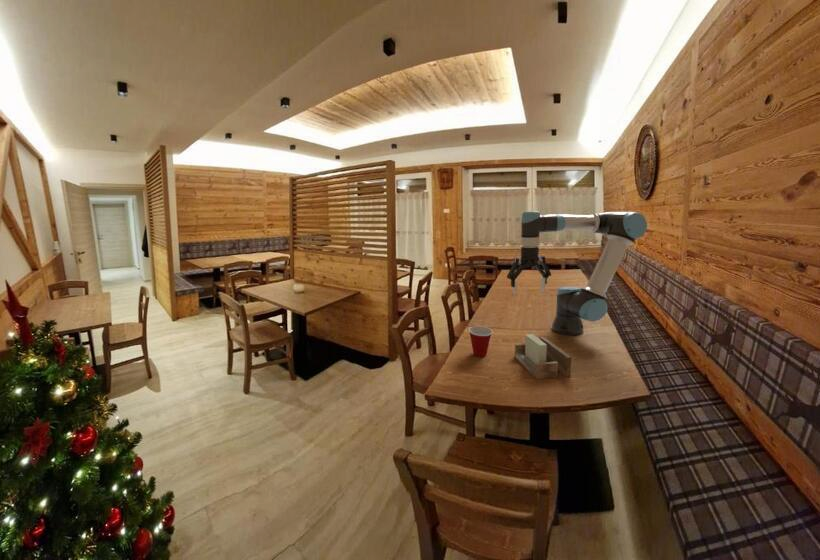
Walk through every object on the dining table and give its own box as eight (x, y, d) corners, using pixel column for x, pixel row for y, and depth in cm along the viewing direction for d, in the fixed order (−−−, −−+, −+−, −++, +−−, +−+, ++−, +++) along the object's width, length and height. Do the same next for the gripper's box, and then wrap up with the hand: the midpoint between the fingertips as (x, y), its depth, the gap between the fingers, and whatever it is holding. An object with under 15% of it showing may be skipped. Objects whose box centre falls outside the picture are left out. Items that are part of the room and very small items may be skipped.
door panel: (531, 359, 151) (532, 333, 148) (545, 372, 139) (546, 344, 136) (524, 360, 150) (525, 334, 148) (538, 373, 139) (539, 345, 136)
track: (542, 353, 156) (543, 336, 154) (570, 376, 135) (571, 357, 133) (514, 356, 155) (514, 339, 153) (537, 379, 134) (538, 360, 132)
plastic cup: (486, 361, 151) (486, 335, 148) (464, 356, 157) (464, 331, 154) (496, 352, 159) (496, 328, 156) (474, 347, 165) (474, 324, 163)
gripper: (551, 243, 159) (549, 288, 164) (499, 247, 156) (499, 292, 161) (560, 245, 152) (558, 292, 157) (506, 249, 149) (506, 296, 153)
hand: (528, 292), depth 159 cm, fingers open, 13 cm apart
